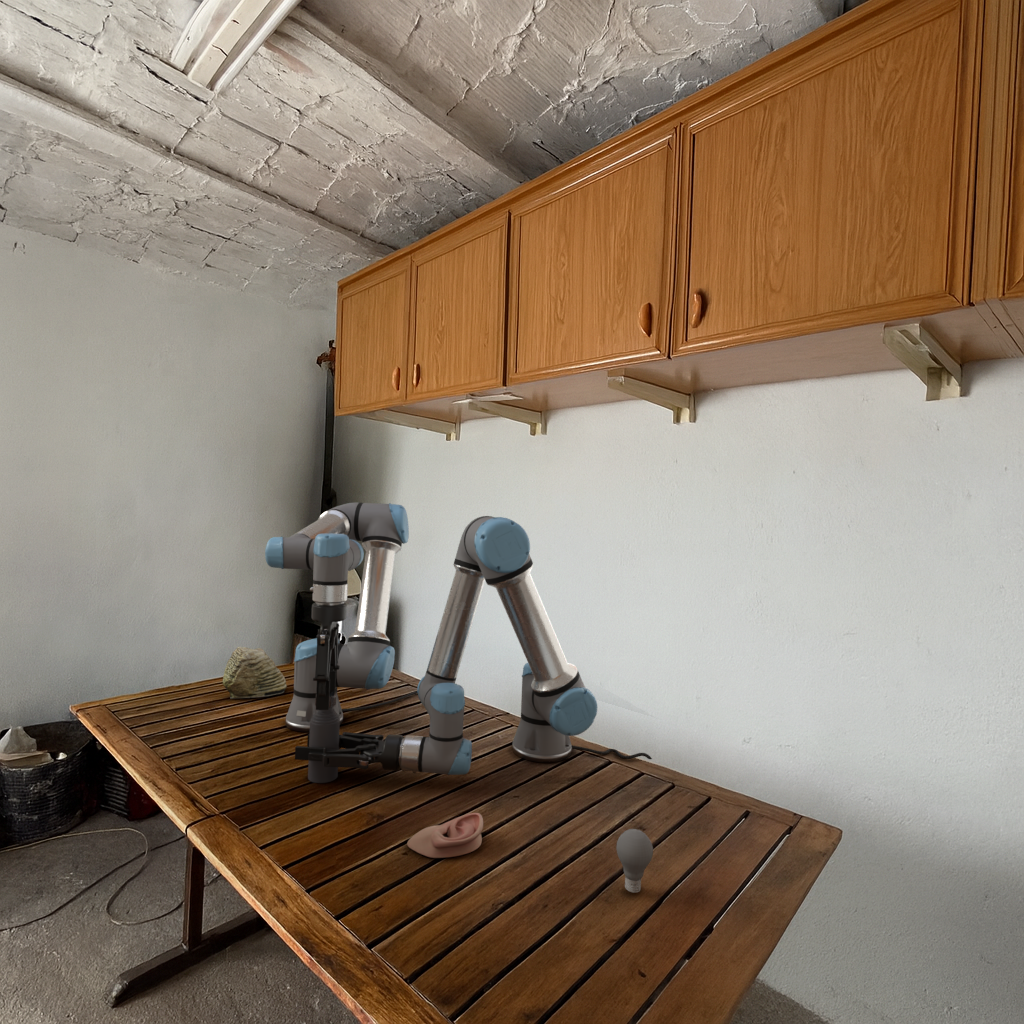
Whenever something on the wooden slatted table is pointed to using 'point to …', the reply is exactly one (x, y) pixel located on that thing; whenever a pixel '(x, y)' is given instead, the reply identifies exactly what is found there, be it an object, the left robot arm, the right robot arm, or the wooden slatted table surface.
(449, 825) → the anatomical model
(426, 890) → the wooden slatted table surface
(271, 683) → the fossil
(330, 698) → the cap
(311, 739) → the bottle
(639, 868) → the light bulb
